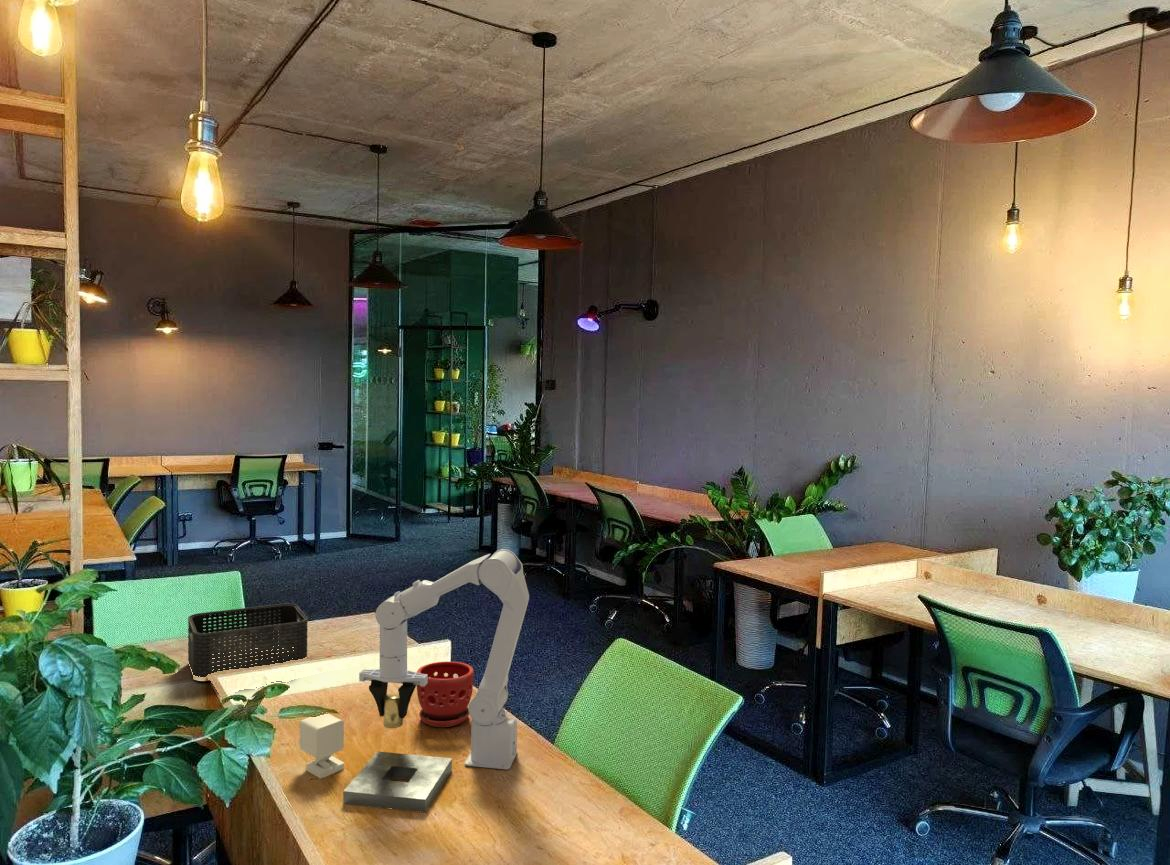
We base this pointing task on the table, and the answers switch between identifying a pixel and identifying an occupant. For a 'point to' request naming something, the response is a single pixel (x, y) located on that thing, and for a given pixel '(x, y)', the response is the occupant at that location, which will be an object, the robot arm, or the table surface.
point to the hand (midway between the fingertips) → (393, 715)
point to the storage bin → (246, 638)
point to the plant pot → (445, 693)
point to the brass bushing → (392, 711)
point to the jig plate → (382, 792)
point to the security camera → (322, 743)
